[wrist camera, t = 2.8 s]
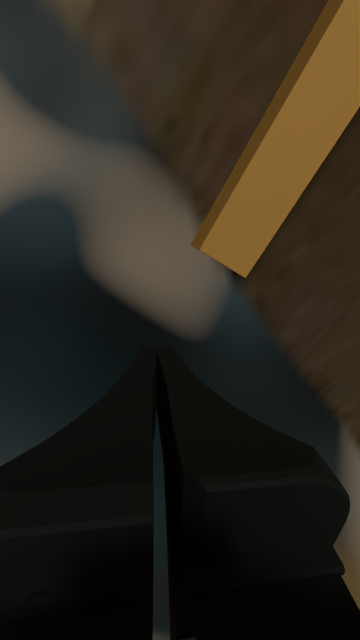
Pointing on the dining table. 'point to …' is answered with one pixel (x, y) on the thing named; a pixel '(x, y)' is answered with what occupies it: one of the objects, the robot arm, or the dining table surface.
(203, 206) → the dining table surface
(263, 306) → the dining table surface
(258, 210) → the wooden stick
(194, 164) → the dining table surface
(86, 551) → the robot arm
